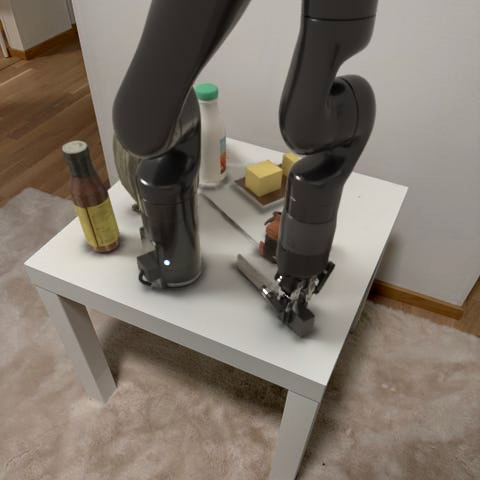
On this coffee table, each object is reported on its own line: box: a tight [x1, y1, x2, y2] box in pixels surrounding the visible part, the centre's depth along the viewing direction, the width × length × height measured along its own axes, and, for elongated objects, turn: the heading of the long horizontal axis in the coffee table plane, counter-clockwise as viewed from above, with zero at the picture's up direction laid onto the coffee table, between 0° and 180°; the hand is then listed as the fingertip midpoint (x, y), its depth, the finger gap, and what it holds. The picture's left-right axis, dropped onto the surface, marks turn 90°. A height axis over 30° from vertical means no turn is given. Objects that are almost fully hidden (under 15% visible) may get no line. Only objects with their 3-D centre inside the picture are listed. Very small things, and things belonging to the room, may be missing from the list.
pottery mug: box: [258, 211, 282, 264], centre depth 83 cm, size 12×10×8 cm
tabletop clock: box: [112, 130, 200, 212], centre depth 83 cm, size 14×9×25 cm, turn 123°
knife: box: [236, 253, 316, 338], centre depth 75 cm, size 2×20×4 cm, turn 35°
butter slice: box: [281, 151, 301, 177], centre depth 98 cm, size 2×5×4 cm, turn 35°
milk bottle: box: [194, 82, 227, 184], centre depth 93 cm, size 8×8×20 cm
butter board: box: [233, 163, 287, 207], centre depth 99 cm, size 17×11×2 cm, turn 125°
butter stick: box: [245, 159, 283, 197], centre depth 95 cm, size 6×5×4 cm
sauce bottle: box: [61, 140, 121, 253], centre depth 78 cm, size 7×6×20 cm
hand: (291, 317), depth 74 cm, fingers closed on knife, 2 cm apart
